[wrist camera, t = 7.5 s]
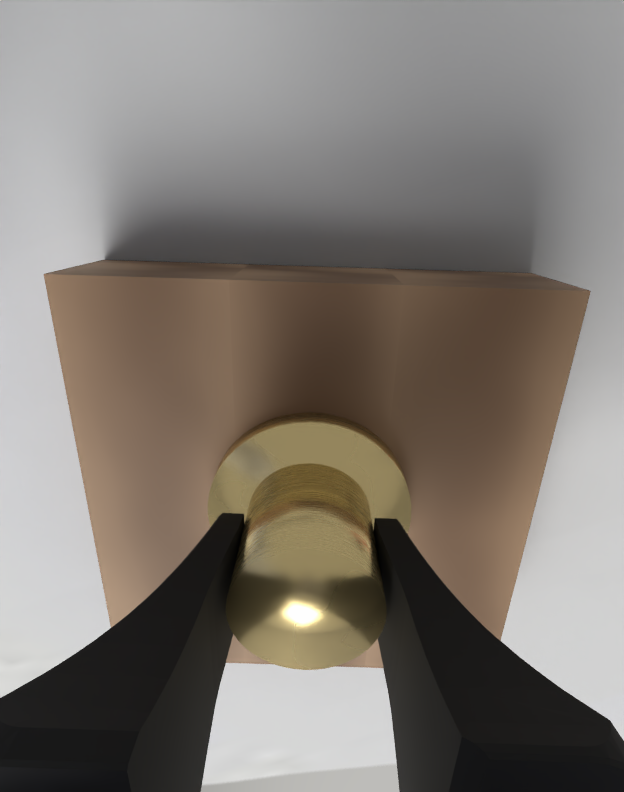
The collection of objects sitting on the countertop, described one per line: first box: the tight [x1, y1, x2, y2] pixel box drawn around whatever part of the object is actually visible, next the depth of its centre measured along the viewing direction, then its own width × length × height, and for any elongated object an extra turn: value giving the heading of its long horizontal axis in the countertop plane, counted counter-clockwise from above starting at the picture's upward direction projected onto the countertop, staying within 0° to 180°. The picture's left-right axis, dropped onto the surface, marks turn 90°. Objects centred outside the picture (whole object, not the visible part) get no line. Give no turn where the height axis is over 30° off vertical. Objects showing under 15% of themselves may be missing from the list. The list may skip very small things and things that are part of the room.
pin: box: [208, 412, 411, 670], centre depth 14 cm, size 6×6×7 cm
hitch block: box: [44, 260, 591, 668], centre depth 16 cm, size 14×14×4 cm
